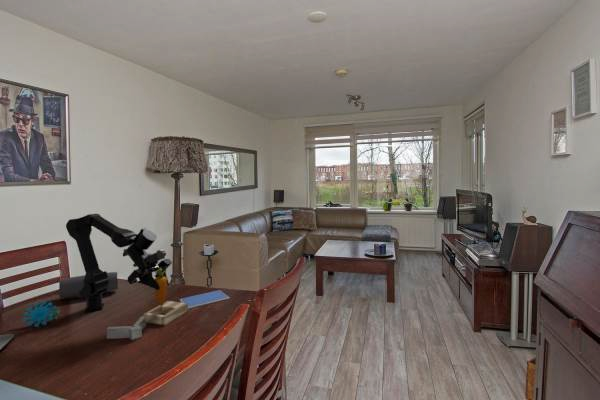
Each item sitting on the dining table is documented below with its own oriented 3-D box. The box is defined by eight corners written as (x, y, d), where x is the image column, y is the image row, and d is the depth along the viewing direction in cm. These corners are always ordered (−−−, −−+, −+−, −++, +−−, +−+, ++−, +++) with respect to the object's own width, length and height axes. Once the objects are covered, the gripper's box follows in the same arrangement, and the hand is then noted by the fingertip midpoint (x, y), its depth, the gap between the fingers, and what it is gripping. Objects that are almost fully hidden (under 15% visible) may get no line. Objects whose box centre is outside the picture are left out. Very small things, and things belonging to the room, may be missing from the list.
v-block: (105, 337, 111) (105, 328, 111) (144, 324, 122) (144, 315, 121) (116, 346, 106) (115, 335, 105) (156, 331, 116) (155, 321, 116)
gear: (18, 326, 117) (27, 300, 123) (21, 332, 120) (30, 307, 127) (55, 324, 121) (62, 299, 128) (57, 331, 125) (64, 306, 131)
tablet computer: (187, 310, 136) (187, 307, 136) (178, 301, 146) (178, 298, 146) (230, 300, 147) (230, 297, 147) (219, 292, 157) (219, 289, 157)
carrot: (157, 303, 129) (156, 266, 128) (170, 303, 129) (169, 266, 128) (152, 308, 124) (151, 270, 123) (165, 308, 124) (164, 269, 123)
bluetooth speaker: (117, 288, 162) (117, 268, 161) (118, 294, 154) (117, 273, 153) (62, 296, 150) (60, 275, 150) (59, 303, 142) (58, 281, 142)
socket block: (143, 321, 124) (143, 314, 123) (167, 307, 137) (167, 300, 137) (165, 325, 121) (164, 317, 121) (187, 310, 134) (187, 303, 134)
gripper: (132, 249, 117) (158, 281, 114) (167, 239, 135) (190, 267, 132) (116, 268, 120) (141, 300, 117) (152, 256, 137) (175, 284, 135)
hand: (163, 287), depth 125 cm, fingers closed on carrot, 5 cm apart
